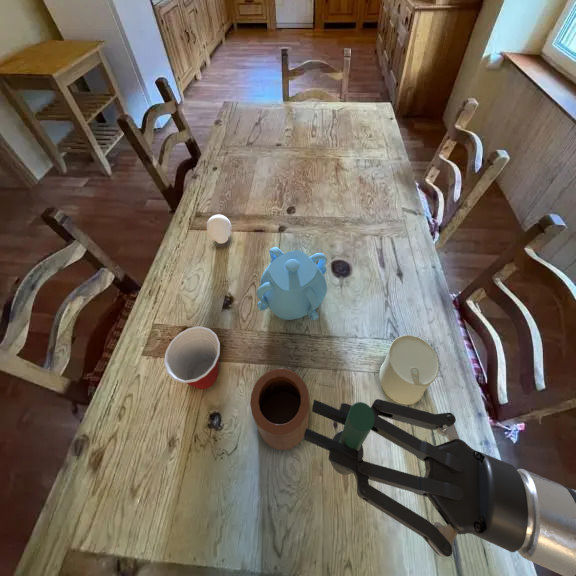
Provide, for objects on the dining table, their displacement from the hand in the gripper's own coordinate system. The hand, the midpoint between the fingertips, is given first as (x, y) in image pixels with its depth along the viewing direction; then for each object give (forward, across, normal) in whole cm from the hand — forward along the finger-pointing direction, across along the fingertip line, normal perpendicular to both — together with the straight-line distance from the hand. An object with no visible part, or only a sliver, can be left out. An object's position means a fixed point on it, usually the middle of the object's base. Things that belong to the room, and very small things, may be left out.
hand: (309, 419), depth 43 cm
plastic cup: (+26, +6, -28) cm, 39 cm away
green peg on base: (-5, 0, -12) cm, 13 cm away
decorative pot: (+14, +30, -28) cm, 43 cm away
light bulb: (+39, +39, -28) cm, 62 cm away
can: (-14, +19, -28) cm, 37 cm away
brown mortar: (+7, +4, -28) cm, 29 cm away
